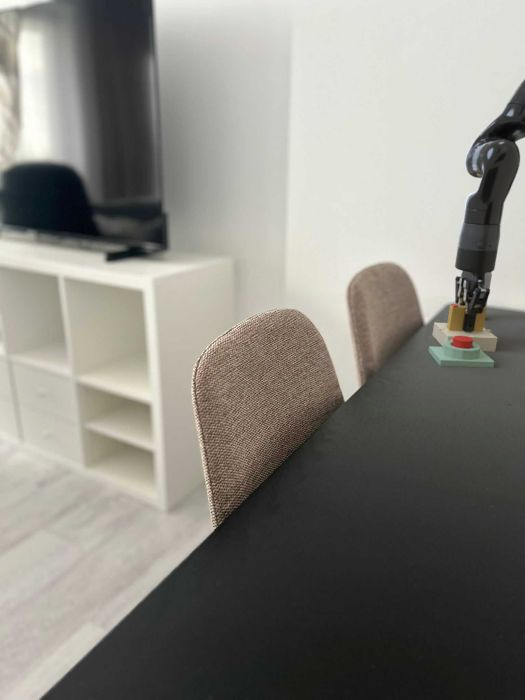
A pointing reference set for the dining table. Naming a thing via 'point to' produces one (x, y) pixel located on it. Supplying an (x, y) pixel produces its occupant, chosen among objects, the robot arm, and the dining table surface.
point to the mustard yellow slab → (458, 316)
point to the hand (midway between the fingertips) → (464, 328)
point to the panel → (479, 337)
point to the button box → (460, 356)
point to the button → (462, 342)
